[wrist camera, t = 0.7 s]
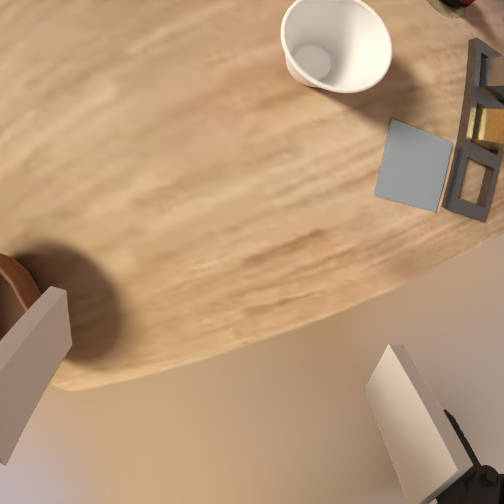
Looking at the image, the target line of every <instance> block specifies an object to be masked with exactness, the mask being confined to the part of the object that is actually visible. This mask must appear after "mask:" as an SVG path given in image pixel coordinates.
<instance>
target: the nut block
mask: <svg viewBox="0 0 504 504" xmlns="http://www.w3.org/2000/svg"><path fill="white" fill-rule="evenodd" d="M471 140H472V141H474V142H476V143H478V144H480V145H482V146H483V147H485V148H488V149H493V150H498V151H503V152H504V109H487V108H476V114H475V120H474V127H473V132H472V138H471Z"/></svg>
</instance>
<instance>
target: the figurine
mask: <svg viewBox="0 0 504 504" xmlns="http://www.w3.org/2000/svg"><path fill="white" fill-rule="evenodd" d="M474 1H475V0H428V2H429V3H430V4H431V5H432V6H433V7H434V8H435V9H436V10H437V11H439V12H440V13H441V14H443V15H445V16H447V17H451V18H458V17H460V16H462V15H463V14H464V12H465V8H466V7H468V6H469V5H470V4H471V3H472V2H474Z"/></svg>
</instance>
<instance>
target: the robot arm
mask: <svg viewBox="0 0 504 504" xmlns="http://www.w3.org/2000/svg"><path fill="white" fill-rule="evenodd" d="M71 346H72V338H71V330H70V322H69V313H68V302H67V290H64V289H60V288H56V287H53V286H50V287H49V288H48V289H47V290H46V291H45V292H44V293H43V294H42V295H41V297H40V298H39V299H38V300H37V301H36V302H35V303H34V304H33V305H32V306H31V307H30V308H29V309H28V310H27V311H26V313H25V314H24V315H23V316H22V317H21V318H20V319H19V320H18V321H17V322H16V324H15V325H14V326H13V327H12V328H11V329H10V330H9V332H8V333H7V334H6V335H5V336H4V337H3V339H2V340H1V341H0V463H1V464H3V465H5V466H6V465H7V463H8V461H9V458H10V456H11V454H12V452H13V450H14V448H15V446H16V444H17V442H18V440H19V438H20V436H21V434H22V432H23V430H24V428H25V426H26V424H27V422H28V421H29V419H30V417H31V415H32V413H33V411H34V409H35V408H36V406H37V404H38V402H39V400H40V399H41V397H42V395H43V393H44V391H45V390H46V388H47V386H48V384H49V383H50V381H51V379H52V378H53V376H54V374H55V373H56V371H57V369H58V368H59V366H60V364H61V363H62V361H63V359H64V358H65V356H66V354H67V353H68V351H69V350H70V348H71ZM364 392H365V394H366V397H367V399H368V402H369V404H370V407H371V409H372V412H373V414H374V416H375V419H376V422H377V424H378V427H379V429H380V432H381V434H382V437H383V439H384V442H385V444H386V447H387V450H388V452H389V455H390V457H391V460H392V463H393V466H394V468H395V471H396V473H397V476H398V479H399V482H400V485H401V487H402V490H403V493H404V496H405V499H406V501H407V504H429V503H430V502H431V501H432V500H434V499H435V498H436V500H437V502H438V503H437V504H504V474H498V472H497V471H496V470H495V469H494V468H492V467H491V466H488V465H483V466H481V464H480V463H479V461H478V459H477V458H476V456H475V454H474V452H473V450H472V448H471V447H470V445H469V443H468V441H467V439H466V438H465V437H464V434H463V432H462V431H461V430H460V427H459V425H458V424H457V423H456V420H455V418H454V417H453V416H452V415H451V414H450V413H449V412H447V411H446V410H443V409H442V408H441V406H440V404H439V403H438V401H437V399H436V398H435V396H434V394H433V392H432V391H431V389H430V388H429V386H428V384H427V383H426V381H425V379H424V378H423V376H422V374H421V373H420V371H419V370H418V368H417V366H416V365H415V363H414V362H413V360H412V359H411V357H410V355H409V354H408V352H407V351H406V349H405V348H404V346H403V345H397V344H389V345H388V347H387V348H386V350H385V352H384V354H383V356H382V358H381V360H380V362H379V363H378V365H377V367H376V369H375V371H374V372H373V374H372V376H371V378H370V379H369V381H368V383H367V385H366V386H365V388H364Z"/></svg>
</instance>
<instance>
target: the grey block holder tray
mask: <svg viewBox="0 0 504 504" xmlns="http://www.w3.org/2000/svg"><path fill="white" fill-rule="evenodd" d="M499 56H502V55H501V54H500V53H498V52H497V51H495V50H494V49H493V48H491V47H490V46H488V45H487V44H485V43H484V42H482V41H481V40H479V39H478V38H474V39H470V40H469V48H468V63H467V74H466V84H465V92H464V100H463V107H462V114H461V120H460V126H459V132H458V137H457V143H456V148H455V152H454V157H453V162H452V166H451V171H450V175H449V179H448V183H447V187H446V191H445V195H444V198H443V202H442V206H441V207H443V208H446V209H448V210H450V211H453V212H456V213H459V214H462V215H465V216H468V217H471V218H474V219H477V220H480V221H483V222H486V218H487V215H488V211H489V208H490V204H491V200H492V197H493V193H494V189H495V185H496V180H497V176H498V171H499V167H500V162H501V157H502V152H503V151H498V150H493V149H490V151H487V150H485V149H483V148H481V147H480V146H478V145H476V144H474V143H472V142H471V138H472V132H473V127H474V120H475V114H476V106H477V107H479V108H487V109H504V100H495V99H494V98H492V97H491V96H489V95H488V94H486V93H485V92H483V91H481V90H480V89H479V80H480V68H481V59H486V58H492V57H499ZM467 158H469V159H471V160H474V161H476V162H478V163H480V164H482V165H484V166H486V170H485V175H484V179H483V183H482V187H481V191H480V195H479V199H478V203H477V204H474V203H472V202H469V201H466V200H464V199H461V198H458V196H459V192H460V188H461V184H462V180H463V176H464V172H465V168H466V163H467Z"/></svg>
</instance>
